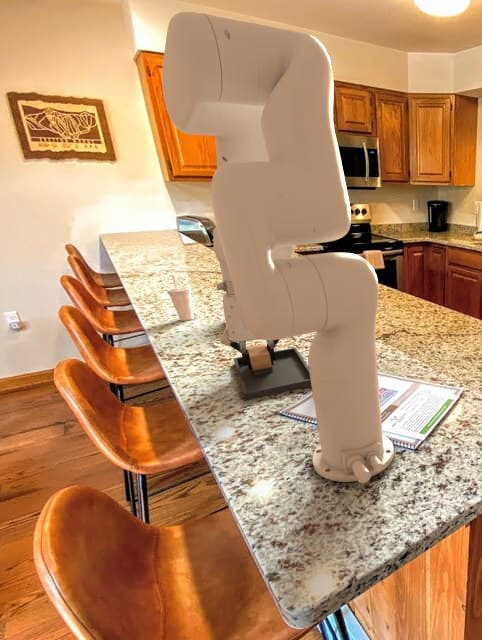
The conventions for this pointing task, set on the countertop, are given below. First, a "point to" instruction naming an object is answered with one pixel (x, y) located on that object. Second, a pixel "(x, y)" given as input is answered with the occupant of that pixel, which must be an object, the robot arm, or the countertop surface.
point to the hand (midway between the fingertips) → (260, 364)
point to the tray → (274, 375)
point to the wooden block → (260, 359)
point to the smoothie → (182, 301)
